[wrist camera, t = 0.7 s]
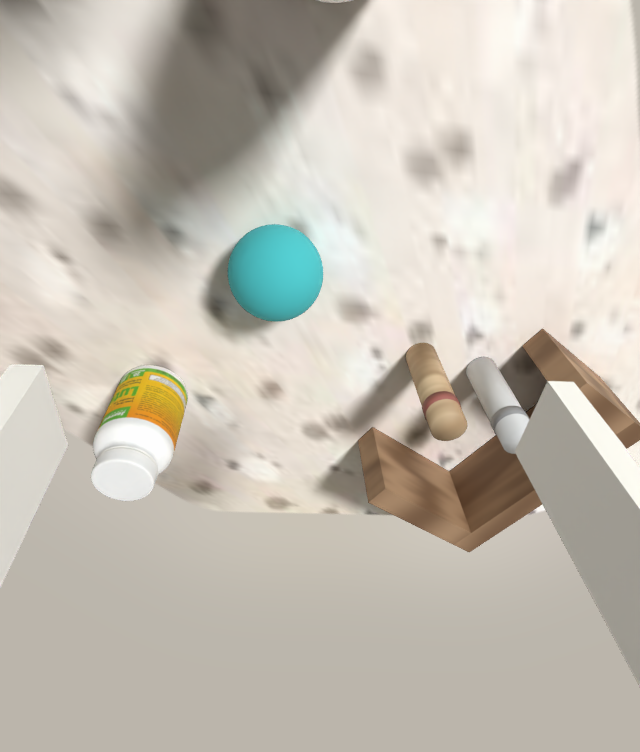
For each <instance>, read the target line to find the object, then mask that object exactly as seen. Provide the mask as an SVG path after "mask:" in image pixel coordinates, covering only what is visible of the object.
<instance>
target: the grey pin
mask: <svg viewBox="0 0 640 752" xmlns="http://www.w3.org/2000/svg"><path fill="white" fill-rule="evenodd" d="M466 374H467V376H468V378H469V380H470V382H471V384H472V386H473V388H474V390H475V392H476V394H477V396H478V398H479V400H480V402H481V404H482V406H483V408H484V410H485V412H486V414H487V416H488V418H489V420H490V422H491V426H492V428H493V430H494V432H495V434H496V435H497V436H498V438H499V440H500V442H501V444H502V446H503V448H504V450H505V451H506V452H508V453H511V454H516V453H515V450H516V448H517V445H518V443H519V441H520V439H521V437H522V435H523V433H524V430H525V428H526V426H527V424H528V422H529V420H530V419H529V417H528V416H527V414H526V412H525V411H524V409H522V407H521V406H520V404H519V402H518V401H517V399H516V397H515V396H514V394H513V392H512V391H511V389H510V387H509V386H508V384H507V382H506V381H505V379H504V377H503V376H502V374H501V372H500V371H499V369H498V367H497V366H496V364H495V362H494V361H493V360H492V359H491V358H488V357H479V358H476V359H474V360H473V361H472V362H470V363H469V365H468V366H467V369H466Z"/></svg>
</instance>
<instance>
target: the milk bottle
mask: <svg viewBox="0 0 640 752" xmlns="http://www.w3.org/2000/svg"><path fill="white" fill-rule="evenodd" d="M317 1H321V2H327V3H341V2H347V1H352V0H317Z"/></svg>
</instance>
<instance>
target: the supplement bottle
mask: <svg viewBox="0 0 640 752" xmlns="http://www.w3.org/2000/svg"><path fill="white" fill-rule="evenodd" d="M187 399H188V392H187V388H186V386H185V384H184V382H183V381H182V379H181V378H180V377H179V376H178V375H176V374H175V373H174V372H172V371H170V370H168V369H166V368H163V367H159V366H154V365H143V366H139V367H136V368H133V369H131V370H130V371H128V372H127V373H126V374H125V375H124V376H123V378H122V379H121V381H120V383H119V385H118V387H117V389H116V391H115V394H114V396H113V398H112V400H111V402H110V404H109V406H108V409H107V411H106V413H105V415H104V417H103V420H102V422H101V424H100V426H99V428H98V431H97V433H96V435H95V438H94V441H93V451H94V455H95V457H96V459H97V460H96V463H95V465H94V467H93V470H92V473H91V480H92V483H93V485H94V487H95V488H96V489H97V490H98V491H99V492H100V493H102V494H104V495H105V496H107V497H110V498H113V499H116V500H121V501H135V500H139V499H142V498H144V497H146V496H147V495H149V493H150V492H151V491H152V490H153V487H154V484H155V481H156V479H157V475H158V474H160V473H161V472H163V471H164V470H165V469H166V468H167V467H168V465H169V464H170V462H171V460H172V457H173V454H174V450H175V446H176V442H177V438H178V435H179V431H180V427H181V423H182V419H183V416H184V412H185V408H186V405H187Z"/></svg>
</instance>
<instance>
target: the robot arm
mask: <svg viewBox="0 0 640 752" xmlns="http://www.w3.org/2000/svg"><path fill="white" fill-rule="evenodd" d="M67 446H68V443H67V440H66V437H65V433H64V430H63V427H62V424H61V420H60V417H59V414H58V411H57V407H56V404H55V401H54V398H53V394H52V391H51V388H50V385H49V381H48V378H47V375H46V372H45V368H44V365H19V364H10V365H9V367H8V368H7V369H6V371H5V372H4V373H3V375H2V376H1V377H0V587H1V585H2V583H3V581H4V579H5V577H6V575H7V572H8V570H9V568H10V566H11V564H12V562H13V560H14V558H15V556H16V554H17V551H18V549H19V547H20V545H21V542H22V541H23V539H24V537H25V535H26V533H27V530H28V528H29V526H30V524H31V522H32V520H33V518H34V516H35V514H36V512H37V509H38V507H39V505H40V503H41V501H42V499H43V497H44V495H45V492H46V490H47V488H48V486H49V484H50V482H51V480H52V478H53V476H54V473H55V472H56V470H57V468H58V465H59V463H60V461H61V459H62V457H63V455H64V453H65V450H66V449H67ZM515 453H516V455H517V457H518V459H519V461H520V463H521V465H522V466H523V468H524V470H525V472H526V474H527V476H528V478H529V480H530V481H531V483H532V485H533V487H534V489H535V491H536V493H537V495H538V497H539V498H540V500H541V502H542V504H543V506H544V508H545V510H546V512H547V513H548V515H549V517H550V519H551V521H552V523H553V525H554V527H555V528H556V530H557V532H558V534H559V536H560V538H561V540H562V541H563V544H564V545H565V547H566V549H567V551H568V553H569V555H570V557H571V559H572V561H573V562H574V564H575V566H576V568H577V570H578V572H579V574H580V576H581V577H582V579H583V581H584V583H585V585H586V587H587V589H588V591H589V593H590V594H591V596H592V598H593V600H594V602H595V604H596V606H597V607H598V609H599V611H600V613H601V615H602V617H603V619H604V621H605V623H606V625H607V626H608V628H609V630H610V632H611V634H612V636H613V638H614V640H615V641H616V643H617V645H618V647H619V649H620V651H621V653H622V655H623V657H624V658H625V660H626V662H627V664H628V666H629V668H630V670H631V672H632V673H633V675H634V677H635V679H636V681H637V683H638V685H639V687H640V465H639V464H638V463H637V462H636V460H635V459H634V458H633V456H632V455H631V454H630V453H629V451H628V450H627V449H626V448H625V446H624V445H623V444H622V442H621V441H620V440H619V439H618V437H617V436H616V435H615V434H614V432H613V431H612V430H611V429H610V427H609V426H608V425H607V423H606V422H605V421H604V420H603V418H602V417H601V416H600V415H599V413H598V412H597V411H596V409H595V408H594V407H593V406H592V404H591V403H590V402H589V401H588V399H587V398H586V397H585V395H584V394H583V393H582V392H581V390H580V389H579V388H578V387H577V385H576V384H575V383H574V382H564V381H547V383H546V386H545V388H544V390H543V392H542V394H541V396H540V398H539V401H538V403H537V405H536V407H535V409H534V411H533V413H532V415H531V418H530V420H529V422H528V424H527V426H526V428H525V430H524V433H523V435H522V437H521V439H520V441H519V443H518V445H517V448H516V450H515Z"/></svg>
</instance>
